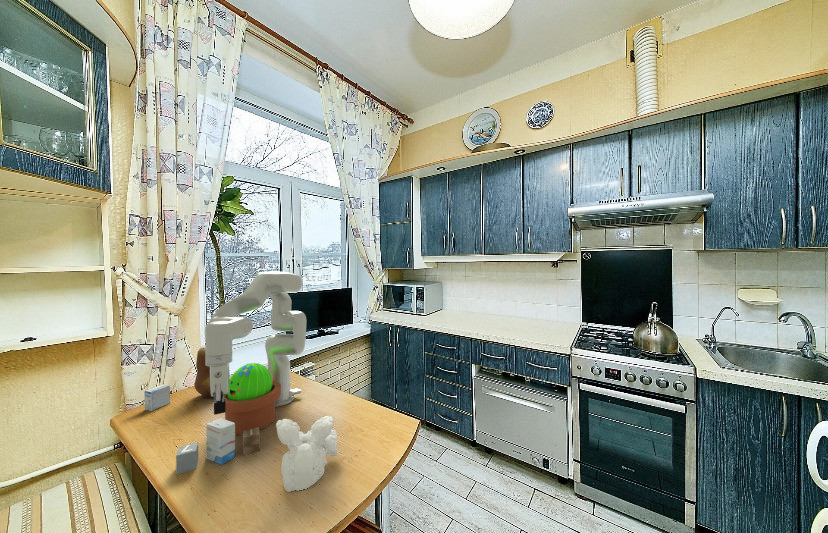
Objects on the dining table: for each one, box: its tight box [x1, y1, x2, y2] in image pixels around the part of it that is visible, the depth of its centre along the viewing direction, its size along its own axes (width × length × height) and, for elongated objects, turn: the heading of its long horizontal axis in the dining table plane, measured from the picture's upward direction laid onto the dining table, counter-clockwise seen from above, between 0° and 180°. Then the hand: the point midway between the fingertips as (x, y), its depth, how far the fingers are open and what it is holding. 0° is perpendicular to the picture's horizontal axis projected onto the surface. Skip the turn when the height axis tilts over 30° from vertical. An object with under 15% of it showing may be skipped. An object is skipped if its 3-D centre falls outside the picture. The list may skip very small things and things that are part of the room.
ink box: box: [205, 417, 236, 466], centre depth 99 cm, size 9×5×12 cm, turn 65°
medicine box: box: [144, 383, 171, 412], centre depth 134 cm, size 8×4×9 cm, turn 164°
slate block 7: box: [175, 441, 200, 475], centre depth 95 cm, size 5×5×6 cm
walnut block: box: [242, 427, 261, 456], centre depth 104 cm, size 5×5×6 cm
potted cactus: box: [224, 362, 281, 436], centre depth 120 cm, size 22×22×25 cm
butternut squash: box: [194, 344, 212, 399], centre depth 145 cm, size 14×13×25 cm
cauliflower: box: [275, 415, 338, 493], centre depth 93 cm, size 19×20×20 cm
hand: (219, 412), depth 99 cm, fingers closed
